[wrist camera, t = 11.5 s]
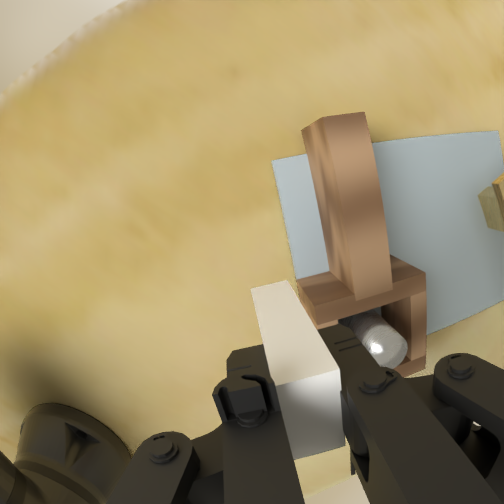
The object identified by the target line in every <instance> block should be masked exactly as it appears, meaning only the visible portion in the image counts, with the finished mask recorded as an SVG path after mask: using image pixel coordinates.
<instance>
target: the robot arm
mask: <svg viewBox="0 0 504 504" xmlns="http://www.w3.org/2000/svg"><path fill="white" fill-rule="evenodd" d="M251 293H252V297H253V302H254V306H255V310H256V315H257V319H258V323H259V328H260V332H261V336H262V341H263V344H261V345H257V346H252V347H248V348H243V349H239V350H234V351H232V353H231V354H230V356H229V357H228V359H227V378H225V379H224V380H222V381H221V382H220V383H219V384H218V385H217V386H216V387H215V388H214V391H213V394H212V396H213V399H214V401H215V404H216V407H217V409H218V412H219V415H220V417H221V420H222V424H221V425H220V426H219V427H218V428H216V429H215V430H214V431H212V432H210V433H208V434H206V435H203V436H201V437H198V438H195V439H193V440H190V439H189V438H188V437H187V436H185V435H184V434H183V433H178V432H174V431H172V432H162V433H159V434H156V435H153V436H151V437H150V438H148V439H146V440H145V441H144V442H143V443H142V444H141V445H140V446H139V447H138V449H137V451H136V452H135V454H134V456H133V457H132V459H131V457H130V454H129V452H128V450H127V448H126V447H125V445H124V444H123V443H122V441H121V440H120V439H119V438H118V437H117V436H116V435H115V434H114V433H113V432H112V431H111V430H109V429H108V428H107V427H106V426H104V425H103V424H102V423H100V422H99V421H97V420H96V419H94V418H92V417H90V416H89V415H87V414H85V413H83V412H81V411H78V410H76V409H73V408H71V407H68V406H64V405H60V404H53V403H45V404H40V405H37V406H35V407H34V408H32V409H31V410H30V412H29V413H28V415H27V416H26V418H25V419H24V421H23V423H22V425H21V432H20V434H21V436H20V440H19V445H18V450H17V456H16V460H15V462H14V464H13V463H12V462H11V461H10V460H9V459H8V458H7V457H6V456H5V455H4V454H3V453H2V452H1V451H0V504H305V502H304V498H303V494H302V491H301V487H300V483H299V479H298V475H297V471H296V467H295V463H294V460H295V459H299V458H303V457H307V456H311V455H315V454H319V453H322V452H326V451H329V450H333V449H336V448H340V447H343V446H345V436H346V438H347V441H348V443H349V445H350V461H351V475H354V474H355V470H356V472H357V475H358V477H359V479H360V481H361V484H362V486H363V488H364V491H365V493H366V495H367V498H368V500H369V502H370V504H504V370H503V369H501V368H499V367H497V366H495V365H493V364H491V363H489V362H487V361H485V360H483V359H481V358H479V357H477V356H474V355H471V354H468V353H456V354H451V355H448V356H446V357H444V358H442V359H440V360H439V361H438V362H437V363H436V366H435V369H434V374H433V375H427V376H421V377H414V378H403V377H402V376H401V374H399V373H398V372H397V371H395V370H394V369H391V368H388V367H380V365H379V364H378V363H377V361H376V360H375V359H374V358H373V356H372V355H371V354H370V353H369V351H368V350H367V349H366V348H365V346H364V345H362V343H361V341H360V340H359V339H358V338H357V336H356V335H355V334H354V332H353V331H352V330H351V329H350V328H348V327H345V326H343V325H341V324H336V325H332V326H329V327H325V328H321V329H318V330H317V329H316V328H315V326H314V324H313V323H312V321H311V319H310V318H309V316H308V314H307V313H306V311H305V309H304V307H303V306H302V304H301V302H300V301H299V299H298V297H297V296H296V294H295V292H294V291H293V289H292V287H291V286H290V284H289V282H288V281H287V280H285V281H281V282H277V283H272V284H268V285H264V286H259V287H255V288H251ZM473 421H474V422H476V423H477V424H479V425H481V426H476V425H475V424H473Z"/></svg>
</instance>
